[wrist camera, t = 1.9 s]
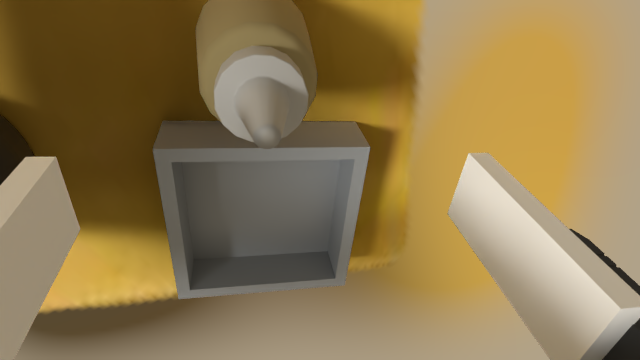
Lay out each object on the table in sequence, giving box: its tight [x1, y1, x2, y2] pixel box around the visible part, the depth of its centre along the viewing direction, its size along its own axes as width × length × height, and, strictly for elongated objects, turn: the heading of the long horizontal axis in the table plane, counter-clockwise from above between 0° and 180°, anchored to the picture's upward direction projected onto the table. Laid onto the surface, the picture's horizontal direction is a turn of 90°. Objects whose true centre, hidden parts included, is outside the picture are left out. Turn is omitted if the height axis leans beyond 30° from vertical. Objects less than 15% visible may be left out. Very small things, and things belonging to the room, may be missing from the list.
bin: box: [153, 121, 370, 299], centre depth 38 cm, size 17×17×5 cm
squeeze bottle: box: [195, 0, 318, 149], centre depth 23 cm, size 8×8×18 cm
